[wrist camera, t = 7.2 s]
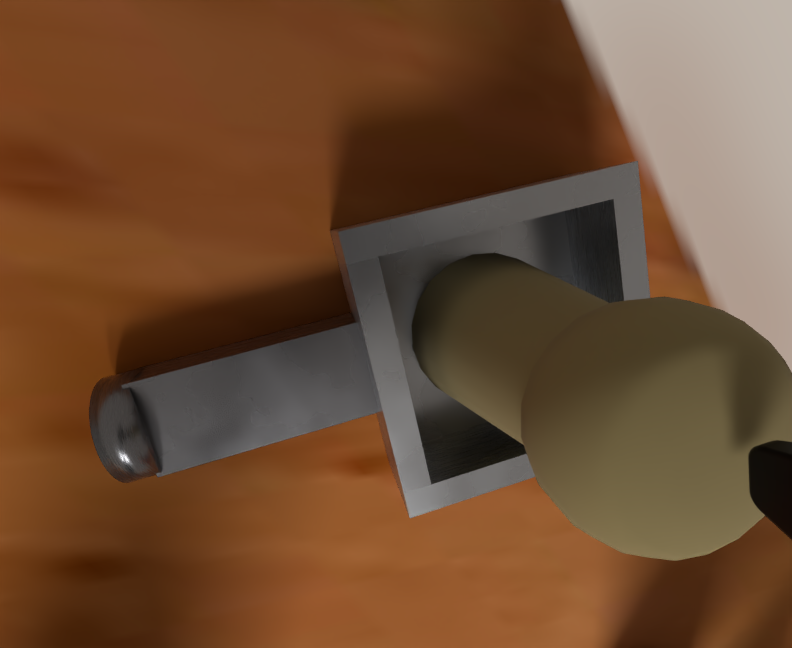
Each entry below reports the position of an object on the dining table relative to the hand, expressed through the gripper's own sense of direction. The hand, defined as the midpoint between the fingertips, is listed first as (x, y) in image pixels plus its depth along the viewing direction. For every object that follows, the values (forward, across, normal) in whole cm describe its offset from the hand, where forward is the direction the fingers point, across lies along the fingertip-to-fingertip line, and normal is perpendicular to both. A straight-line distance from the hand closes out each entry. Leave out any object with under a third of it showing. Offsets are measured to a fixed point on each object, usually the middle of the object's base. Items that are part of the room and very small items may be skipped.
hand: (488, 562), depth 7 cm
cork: (+12, -5, 0) cm, 13 cm away
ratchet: (+13, 0, 0) cm, 13 cm away
